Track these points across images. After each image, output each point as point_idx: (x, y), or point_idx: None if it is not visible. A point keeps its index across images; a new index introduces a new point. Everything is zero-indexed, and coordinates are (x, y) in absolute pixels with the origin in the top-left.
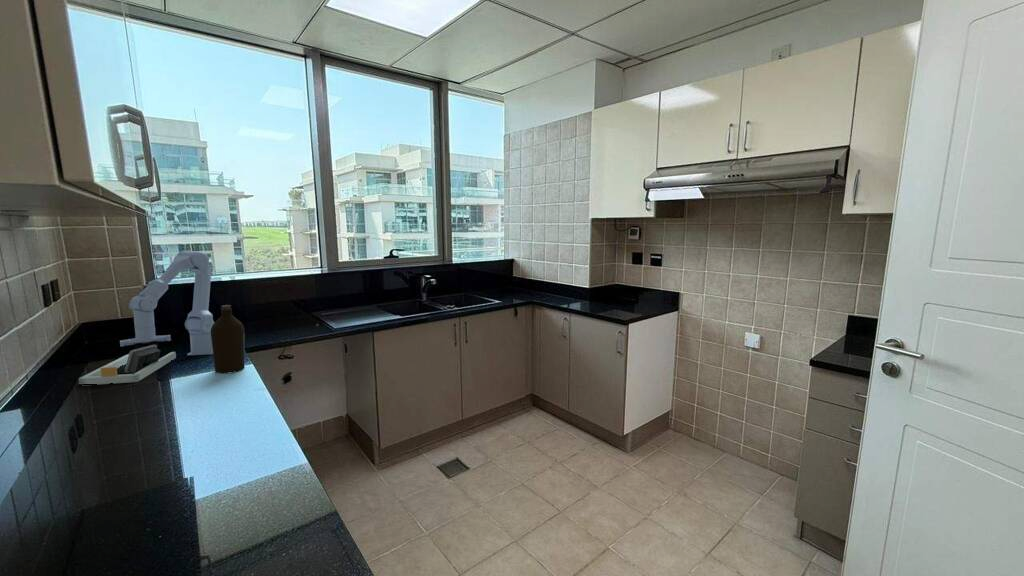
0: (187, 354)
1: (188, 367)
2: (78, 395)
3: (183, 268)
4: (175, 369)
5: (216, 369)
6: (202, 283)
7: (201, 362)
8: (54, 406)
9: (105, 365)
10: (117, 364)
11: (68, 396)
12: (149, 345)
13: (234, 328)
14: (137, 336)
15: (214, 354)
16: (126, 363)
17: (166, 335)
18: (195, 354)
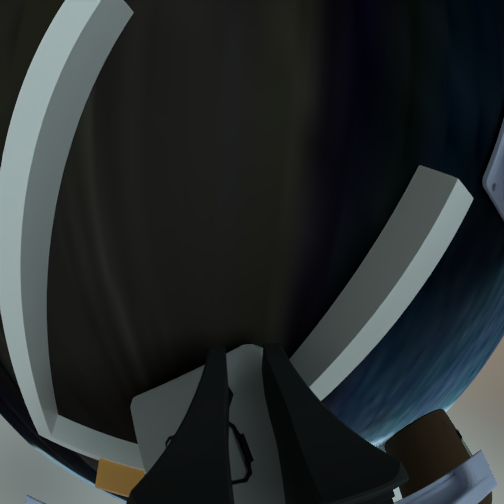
0: (487, 185)
1: (377, 403)
2: (94, 459)
3: None
4: (335, 413)
5: (387, 453)
6: None
7: (439, 357)
8: (88, 470)
9: (7, 337)
10: (34, 263)
11: (77, 453)
12: (302, 487)
13: None
14: None
15: (400, 486)
16: (141, 455)
17: (476, 501)
18: (500, 211)
